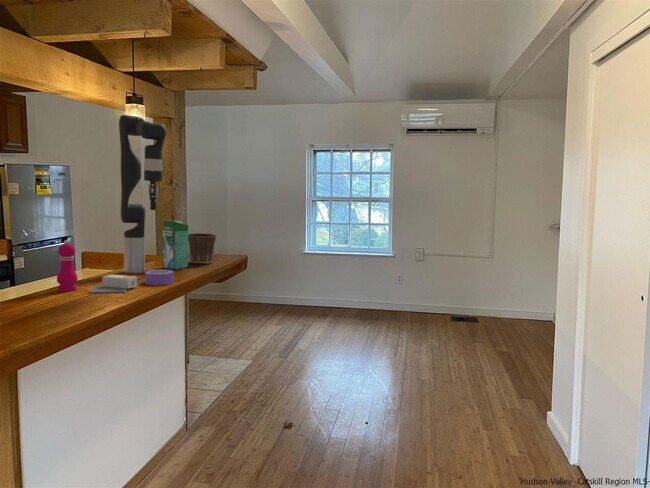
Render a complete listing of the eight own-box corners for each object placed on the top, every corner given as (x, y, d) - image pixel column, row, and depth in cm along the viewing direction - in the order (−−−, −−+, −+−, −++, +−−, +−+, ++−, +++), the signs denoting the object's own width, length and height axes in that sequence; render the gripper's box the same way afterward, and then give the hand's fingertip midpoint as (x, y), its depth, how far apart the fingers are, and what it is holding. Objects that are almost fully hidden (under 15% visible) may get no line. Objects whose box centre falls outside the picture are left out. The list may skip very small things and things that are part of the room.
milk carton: (188, 267, 249) (188, 220, 246) (174, 269, 241) (174, 221, 238) (176, 265, 253) (176, 219, 251) (162, 267, 246) (162, 220, 243)
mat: (94, 287, 193) (94, 285, 192) (128, 286, 196) (128, 285, 196) (88, 293, 181) (88, 291, 181) (125, 292, 185) (125, 291, 185)
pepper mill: (82, 289, 188) (81, 239, 186) (66, 292, 181) (65, 241, 179) (68, 287, 190) (67, 238, 188) (52, 290, 183) (51, 239, 181)
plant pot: (222, 262, 270) (222, 235, 268) (201, 266, 256) (201, 236, 255) (202, 259, 279) (202, 232, 277) (180, 262, 265) (180, 234, 263)
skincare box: (128, 278, 189) (101, 276, 191) (128, 288, 189) (102, 286, 191) (137, 275, 195) (111, 274, 197) (137, 286, 195) (111, 284, 197)
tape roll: (142, 285, 201) (142, 273, 200) (148, 280, 212) (148, 269, 212) (171, 285, 203) (171, 274, 202) (175, 280, 214) (175, 269, 214)
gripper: (145, 170, 208) (145, 209, 210) (142, 169, 196) (142, 210, 198) (162, 170, 211) (162, 209, 212) (161, 170, 198) (161, 211, 200)
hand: (153, 209), depth 205 cm, fingers closed
